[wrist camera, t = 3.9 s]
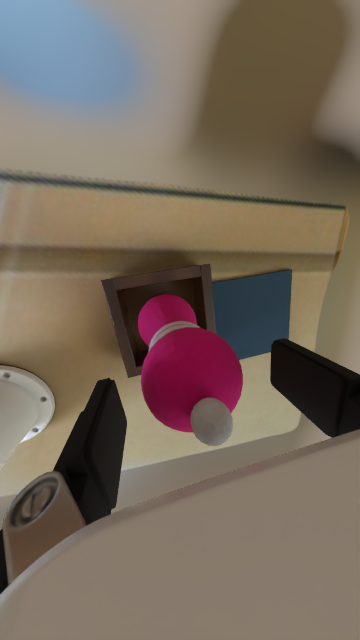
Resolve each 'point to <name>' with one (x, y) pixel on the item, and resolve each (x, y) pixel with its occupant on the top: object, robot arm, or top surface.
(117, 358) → the top surface
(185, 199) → the top surface
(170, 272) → the stand
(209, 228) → the top surface
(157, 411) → the pepper mill
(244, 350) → the mat
